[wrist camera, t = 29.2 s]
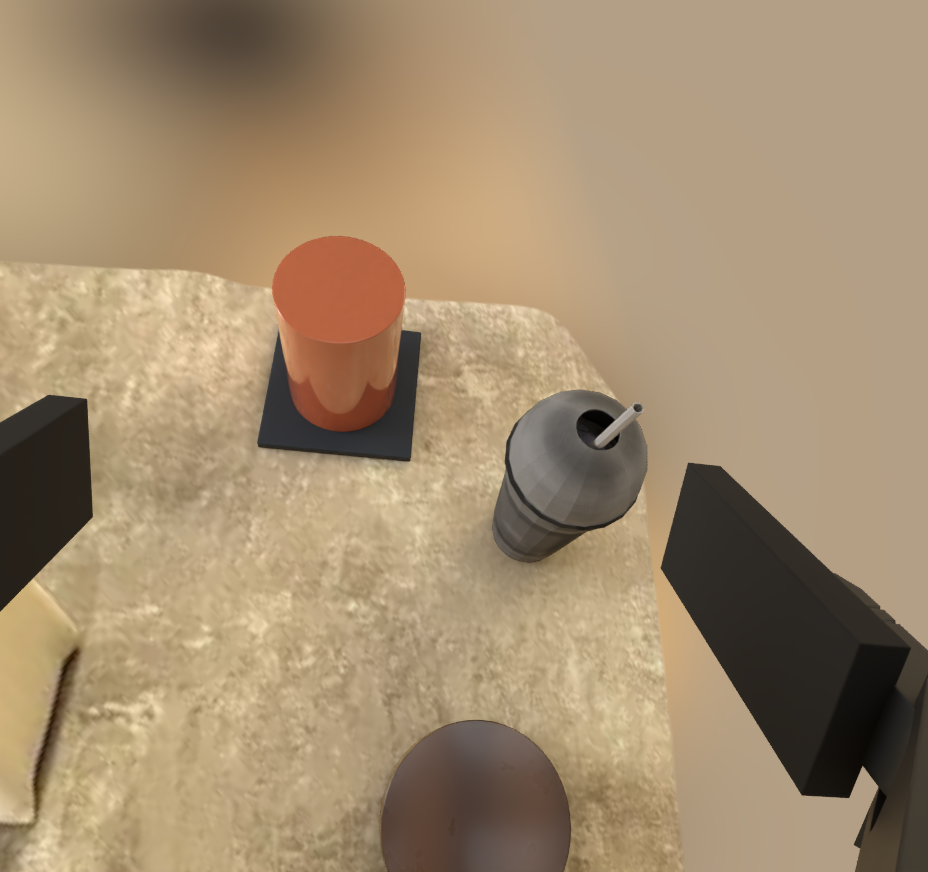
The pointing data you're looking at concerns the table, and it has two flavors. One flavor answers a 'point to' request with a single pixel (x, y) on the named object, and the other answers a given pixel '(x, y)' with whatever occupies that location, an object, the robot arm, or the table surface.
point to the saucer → (475, 804)
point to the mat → (375, 441)
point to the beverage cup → (568, 472)
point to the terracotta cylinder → (340, 330)
